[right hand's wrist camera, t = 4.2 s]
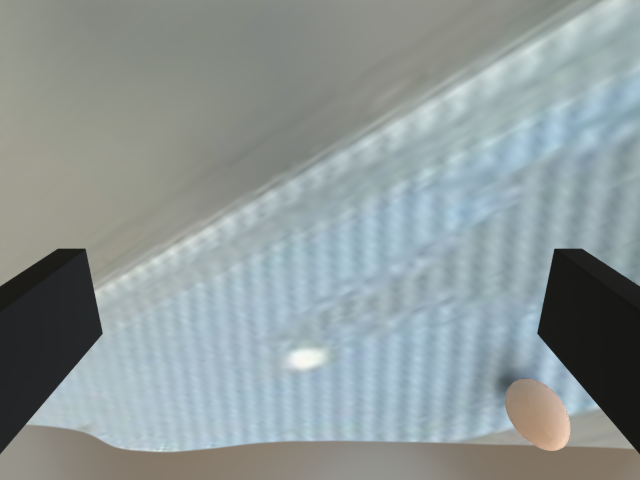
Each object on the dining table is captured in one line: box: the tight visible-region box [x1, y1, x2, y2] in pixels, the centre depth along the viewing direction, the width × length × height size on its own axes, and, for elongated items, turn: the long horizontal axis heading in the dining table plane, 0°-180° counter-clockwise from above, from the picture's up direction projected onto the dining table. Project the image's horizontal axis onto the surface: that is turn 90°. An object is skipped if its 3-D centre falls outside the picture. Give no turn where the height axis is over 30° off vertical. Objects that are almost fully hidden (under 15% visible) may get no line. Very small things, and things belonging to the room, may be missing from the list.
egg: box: [505, 379, 570, 451], centre depth 44 cm, size 5×5×8 cm
